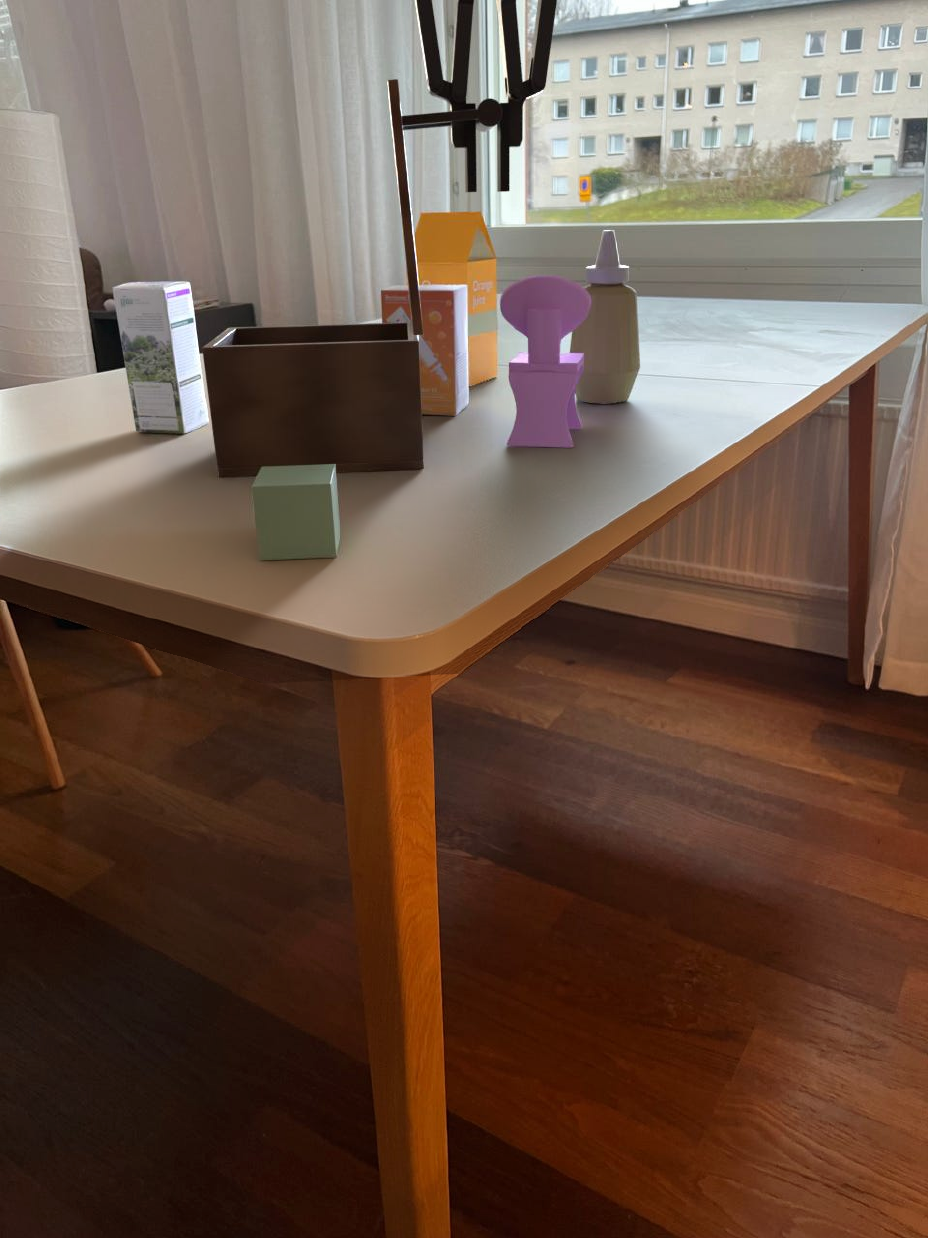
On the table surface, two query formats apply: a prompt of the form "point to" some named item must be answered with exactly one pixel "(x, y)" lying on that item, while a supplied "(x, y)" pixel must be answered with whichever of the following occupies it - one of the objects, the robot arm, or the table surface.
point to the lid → (485, 120)
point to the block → (296, 512)
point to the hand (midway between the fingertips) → (487, 191)
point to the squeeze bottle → (608, 330)
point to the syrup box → (161, 356)
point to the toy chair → (545, 358)
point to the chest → (315, 397)
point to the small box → (437, 343)
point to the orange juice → (463, 278)
